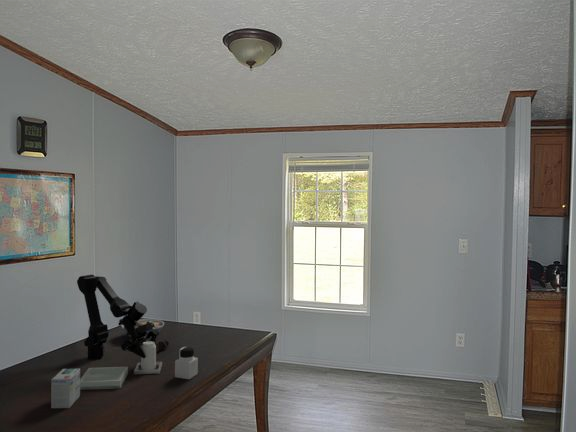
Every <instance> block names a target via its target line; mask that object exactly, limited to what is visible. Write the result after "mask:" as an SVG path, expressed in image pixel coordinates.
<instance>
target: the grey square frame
mask: <svg viewBox="0 0 576 432" xmlns="http://www.w3.org/2000/svg"><path fill="white" fill-rule="evenodd" d="M157 366H158V368H157V369H154V370H142V369H140V368H141V362H140V361H139V362H137V363H136V367H134V369H133V375H151V374H152V375H153V374H161V373H160V372H161V370H162V366H163V361H156V367H157Z"/></svg>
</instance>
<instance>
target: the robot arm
mask: <svg viewBox="0 0 576 432" xmlns="http://www.w3.org/2000/svg"><path fill="white" fill-rule="evenodd" d="M76 285H77V287H78V290H79V292H81V294H82V295H84V302H85V305H86V310H87V311H86V312H87V316H88V320H89V321H88V322H89V328H88V331H87V333H88V335H87V337H86V338H85V340H83V343H84V347H87V357H86V360H101V359H102V358H103V357H104V356H105V346H104V344H105V343H107V340H108V337H109V333H110V332H109V328H108V324H104V323H103V321H102V318H101V313H100V308H99V304H98V303H99V302H98V300H97V295H96V291H97V290H98V291H99V292H100V294H102V296H103V297H104V298H105V300H106V301H107V303H108V304H109V310H110V312H111V314H112V315H113V317H114V318H118V319H119V318H120V319H119V321H118V324H117V325H118V326H120V327H121V325H123V326H124V327H125V329H126V330H127V332H128V333H127V334H126V336H128V335H130V336H129V337H128V338H126V339H125V340H124V341H123V342H122V344H120V345H121V350H122V351H123V352H126V351H127V352H131V353H132V354H135V355H137V356H138V357H140V358H141V357H142V358H145V357H146V356H145V354H144V352H143V351H142V349H141V347H142V346H141V345H140V343H143V342H146V341H153V342H154V343H155V345H157V342H156V339H157V337H158V336H159V335H160V334H161V333H160V332H159V331H158V330H156V329H155V330H152V329H153V327H154V323H153V322H152V321H149V322H147V324H145V325H142V324H138V322H137V321H139V320H140V319H142V318H143V316H144V315H146V313H147V311H148V308H147V306H146V305H145V304H143V303H140V302H139V301H135V302H134V303H132V305H130V303H128V302H127V301H126V300H125V299H123V298H121V297H120V296H118V294H117V293H116V291H115V290H114V289H113V287H111V285H110V283H109V282H108V281H107V278H106V277H105V276H99V275H96V276H95V275H94V274H85V275H80V276H79V277H78V278H77V280H76ZM122 317H123V318H122ZM149 330H152V331H150V332H149V333H148V331H149ZM147 333H148V334H147ZM145 334H147V335H145ZM157 352H159V351H157V347H156V353H157ZM157 354H158V353H157Z"/></svg>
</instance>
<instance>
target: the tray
mask: <svg viewBox="0 0 576 432" xmlns="http://www.w3.org/2000/svg"><path fill="white" fill-rule="evenodd" d="M128 374H129V366H112V367H111V366H108V367H106V366H105V367H104V366H103V367H89V368H88V369H87V370H86V371H85V372H84V374H83V375H82V376H81V377H80V391H83V390H84V391H85V390H86V391H87V390H89V391H90V390H109V389H110V390H111V389H113V390H114V389H121V388H122V386H123V384H124V383H125V380H126V378H127V377H128Z"/></svg>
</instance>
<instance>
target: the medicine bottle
mask: <svg viewBox="0 0 576 432" xmlns="http://www.w3.org/2000/svg"><path fill="white" fill-rule="evenodd" d="M178 356H179V358H178V359H176V360H175V361H174V378H177V379H178V378H179V379H185V380H191V379H192V378H194V377H195V376H197V375H199V374H198V371H199V370H198V369H199V367H198V366H199V365H198V364H199V357H195V348H193V347H191V346H183V347H181V348H180V349H179V355H178Z"/></svg>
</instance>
